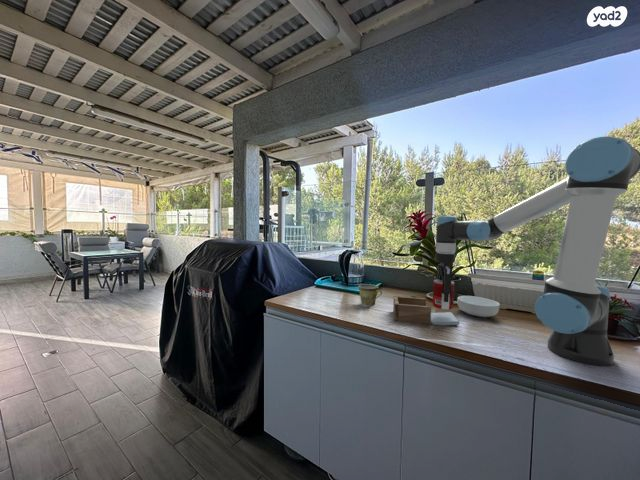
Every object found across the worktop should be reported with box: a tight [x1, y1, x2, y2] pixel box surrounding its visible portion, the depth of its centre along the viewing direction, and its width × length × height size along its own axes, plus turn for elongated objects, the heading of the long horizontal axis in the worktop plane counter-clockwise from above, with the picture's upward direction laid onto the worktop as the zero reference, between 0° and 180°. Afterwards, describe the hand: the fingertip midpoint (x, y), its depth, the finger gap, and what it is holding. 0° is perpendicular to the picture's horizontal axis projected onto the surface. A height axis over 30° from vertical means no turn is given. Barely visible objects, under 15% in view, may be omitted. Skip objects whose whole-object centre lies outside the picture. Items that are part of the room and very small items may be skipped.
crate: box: [392, 295, 434, 326], centre depth 113 cm, size 14×15×8 cm
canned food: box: [432, 279, 455, 310], centre depth 110 cm, size 8×8×11 cm
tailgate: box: [431, 311, 460, 326], centre depth 111 cm, size 12×10×1 cm
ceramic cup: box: [358, 283, 383, 308], centre depth 132 cm, size 13×10×10 cm
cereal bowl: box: [456, 295, 501, 318], centre depth 120 cm, size 17×17×7 cm
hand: (442, 305), depth 110 cm, fingers closed on canned food, 8 cm apart
